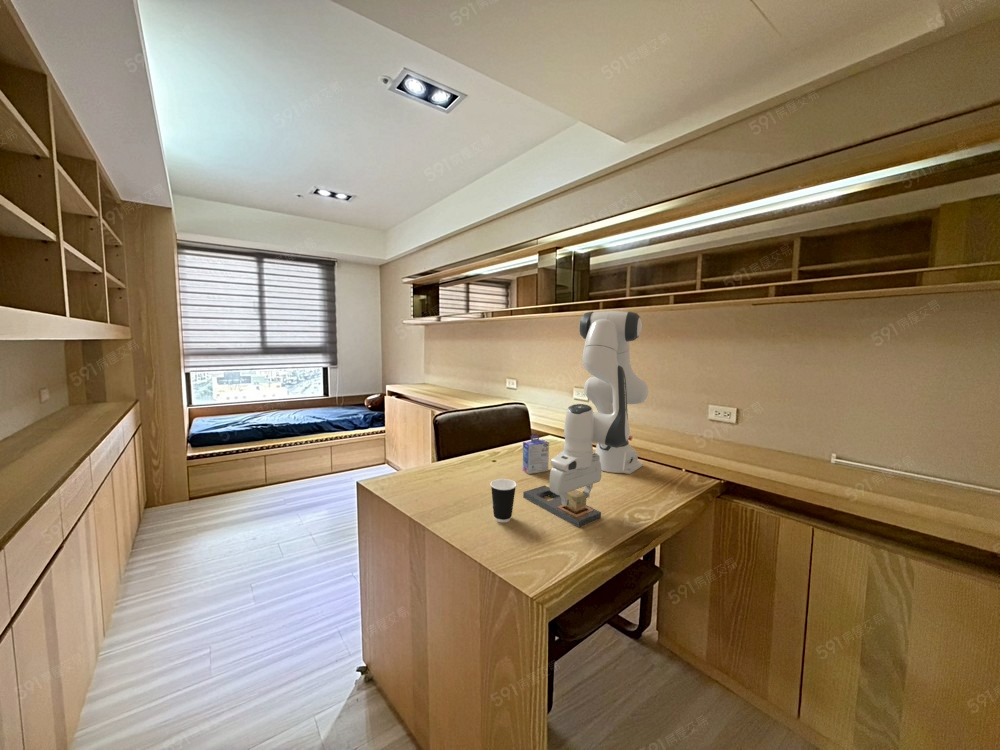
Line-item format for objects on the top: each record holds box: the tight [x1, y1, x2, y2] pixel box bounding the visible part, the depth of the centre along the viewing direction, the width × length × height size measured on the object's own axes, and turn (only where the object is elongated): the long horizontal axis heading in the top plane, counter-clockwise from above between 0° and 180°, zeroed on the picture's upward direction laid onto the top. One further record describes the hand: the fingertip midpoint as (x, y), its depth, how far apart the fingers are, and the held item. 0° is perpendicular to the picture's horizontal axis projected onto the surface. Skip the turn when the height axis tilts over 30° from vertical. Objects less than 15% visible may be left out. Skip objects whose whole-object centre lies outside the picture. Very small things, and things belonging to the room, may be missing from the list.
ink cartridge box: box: [522, 435, 550, 475], centre depth 155 cm, size 10×6×14 cm, turn 116°
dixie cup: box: [489, 478, 517, 523], centre depth 114 cm, size 8×8×11 cm
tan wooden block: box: [565, 489, 587, 515], centre depth 118 cm, size 4×4×7 cm
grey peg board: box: [522, 485, 602, 529], centre depth 123 cm, size 10×25×2 cm, turn 37°
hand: (575, 501), depth 118 cm, fingers open, 8 cm apart
